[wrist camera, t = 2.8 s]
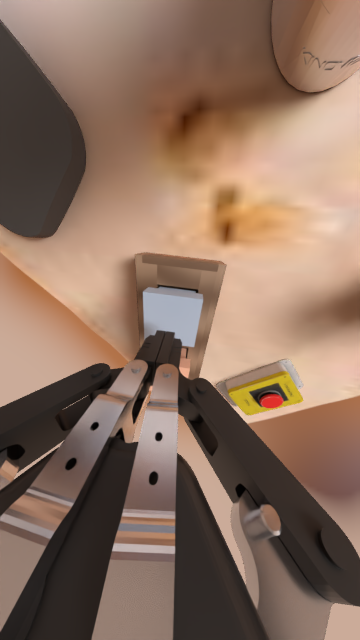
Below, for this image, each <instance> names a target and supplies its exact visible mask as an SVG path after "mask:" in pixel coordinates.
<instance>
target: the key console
mask: <svg viewBox="0 0 360 640" xmlns="http://www.w3.org/2000/svg"><path fill="white" fill-rule="evenodd" d="M135 266H136V284H137V303H138V321H139V340H140V348H141V346H142V344H143V342H144V312H143V291H144V290H145V289H147V288H148V287H151V288H159V287H166V288H174V289H182V290H190V291H196V293H198V294H203V304H202V309H201V314H200V319H199V325H198V330H197V335H196V340H195V345H194V347H189V346H182V348H185V349H186V359H190V371H189V376H188V379H190V380H193V379H195V378H199V374H200V370H201V366H202V362H203V358H204V354H205V350H206V346H207V342H208V338H209V334H210V330H211V326H212V322H213V318H214V314H215V310H216V306H217V302H218V298H219V294H220V289H221V285H222V281H223V277H224V273H225V269H226V264H224V263H223V262H221V261H214V260H206V259H198V258H189V257H181V256H172V255H164V254H155V253H147V252H146V253H139V254H135Z"/></svg>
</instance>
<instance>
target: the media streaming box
mask: <svg viewBox="0 0 360 640" xmlns="http://www.w3.org/2000/svg"><path fill="white" fill-rule="evenodd" d="M85 165H86V151H85V144H84V140H83V136H82V132H81V130H80V127H79V124H78V122H77V120H76V118H75V116H74V114H73V112H72V111H71V109H70V108H69V107H68V105H67V104H66V103H65V101H64V100H63V99H62V97H61V96H60V94H59V93H58V92H57V90H56V89H55V88H54V86H53V85H52V84H51V82H50V81H49V80H48V79H47V77H46V76H45V75H44V73H43V72H42V71H41V69H40V68H39V67H38V66H37V64H36V63H35V62H34V61H33V59H32V58H31V57H30V55H29V54H28V53H27V52H26V50H25V49H24V48H23V47H22V45H21V44H20V43H19V42H18V41H17V39H16V38H15V37H14V36H13V34H12V33H11V32H10V31H9V30H8V28H7V27H6V26H5V25H4V24H3V22H2V21H1V20H0V224H1V225H3V226H4V227H6V228H7V229H9V230H10V231H12V232H14V233H16V234H19V235H22V236H26V237H50V236H52V235H53V234H54V233H55V232H56V230H57V228H58V227H59V225H60V223H61V221H62V220H63V218H64V216H65V214H66V212H67V210H68V208H69V206H70V204H71V202H72V200H73V197H74V195H75V193H76V191H77V188H78V186H79V184H80V181H81V179H82V176H83V174H84V171H85Z"/></svg>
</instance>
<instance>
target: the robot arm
mask: <svg viewBox="0 0 360 640" xmlns="http://www.w3.org/2000/svg"><path fill="white" fill-rule="evenodd" d="M271 24H272V42H273V49H274V55H275V58H276V61H277V64H278V67H279V69H280V72H281V73H282V75H283V76H284V77H285V79H286V80H287V82H288V83H289V84H291V85H292V86H294V87H295V88H296V89H298V90H302V91H305V92H318V91H323V90H326V89H329V88H331V87H334V86H336V85H338V84H339V83H341V82H342V81H344V80H345V79H347V78H348V77H350V76H351V75H352V74H353V73H355V72H356V71H357V70H358V69H359V68H360V0H273V4H272V13H271ZM181 350H182V342H181V339H177V338H175V332H170V331H162V330H157V331H156V334H155V336H154V335H149V336H148V337H147V338H146V339H145V340H144V342H143V344H142V346H141V348H140V350H139V352H138V353H137V355H136V357H135V359H134V360H133V361H130V362H129V363H128V364H127V365H126V366H125V367H124V368H118V369H110V367H109V365H107V364H104V363H99V364H95V365H92V366H90V367H88V368H86V369H84V370H81V371H79V372H77V373H75V374H73V375H70V376H68V377H66V378H64V379H62V380H60V381H57V382H55V383H53V384H51V385H49V386H46V387H44V388H42V389H40V390H37V391H35V392H33V393H31V394H29V395H27V396H24V397H22V398H20V399H18V400H16V401H13V402H11V403H9V404H7V405H5V406H2V407H0V640H324V637H325V632H326V628H327V624H328V619H329V614H330V610H331V606H332V605H333V604H334V603H340V604H347V605H353V606H360V558H359V556H358V554H357V552H356V550H355V549H354V547H353V545H352V543H351V542H350V540H349V539H348V537H347V536H346V535H345V533H344V532H343V531H342V530H341V528H340V527H339V526H338V525H337V524H336V522H335V521H334V520H333V519H332V518H331V517H330V516H329V515H328V514H327V512H326V511H325V510H324V509H323V508H322V507H321V506H320V505H319V504H318V502H317V501H316V500H315V499H314V498H313V497H312V496H311V495H310V494H309V493H308V492H307V490H306V489H305V488H304V487H303V486H302V485H301V483H300V482H299V481H298V480H297V479H296V478H295V477H294V476H293V475H292V474H291V472H290V471H289V470H288V469H287V468H286V467H285V466H284V465H283V463H282V462H281V461H280V460H279V459H278V458H277V457H276V456H275V455H274V454H273V452H272V451H271V450H270V449H269V448H268V447H267V446H266V445H265V444H264V442H263V441H262V440H261V439H260V438H259V437H258V436H257V435H256V433H255V432H254V431H253V430H252V429H251V428H250V427H249V426H248V425H247V423H246V422H245V421H244V420H243V419H242V418H241V417H240V416H239V414H238V413H237V412H236V411H235V410H234V409H233V408H232V407H231V406H230V404H229V403H228V402H227V401H226V400H225V399H224V398H223V397H222V396H221V394H220V393H219V392H218V391H217V390H216V389H215V388H214V387H213V386H212V384H211V383H210V382H209V381H207V380H206V379H203V378H195V379H193V380H190V379H188V378H186V377H185V376H183V375H182V373H181V372H180V369H179V365H180V357H181ZM150 386H153V387H152V392H151V397H150V401H149V403H148V404H147V407H146V412H145V417H144V420H143V425H142V429H141V434H140V438H139V442H133V443H132V441H133V438H134V433H135V428H136V426H137V423H138V420H139V418H140V415H141V413H142V410H143V408H144V405H145V403H146V400H147V398H148V392H149V389H150ZM87 395H88V396H87ZM85 396H86V397H85ZM83 397H85V398H83ZM82 398H83V399H82ZM80 399H81V400H80ZM78 400H80V401H78ZM76 401H78V402H76ZM75 402H76V403H75ZM73 403H74V404H73ZM71 404H73V405H71ZM69 405H71V406H69ZM68 406H69V407H68ZM66 407H67V408H66ZM64 408H66V409H64ZM62 409H63V410H62ZM178 414H180V415H181V416H183V417H184V419H185V421H186V423H187V425H188V427H189V428H190V430H191V432H192V433H193V435H194V437H195V439H196V440H197V442H198V444H199V445H200V447H201V449H202V451H203V452H204V454H205V456H206V458H207V459H208V461H209V463H210V464H211V466H212V468H213V469H214V471H215V473H216V475H217V476H218V478H219V480H220V482H221V483H222V485H223V487H224V489H225V490H226V492H227V494H228V495H229V497H230V499H231V501H232V502H233V506H232V510H231V526H232V531H233V535H234V538H235V541H236V543H237V545H238V548H239V550H240V553H241V556H242V560H243V564H244V569H245V576H246V585H245V583H244V581H243V579H242V576H241V574H240V572H239V570H238V568H237V565H236V563H235V561H234V559H233V557H232V555H231V552H230V550H229V548H228V546H227V544H226V541H225V539H224V537H223V535H222V533H221V531H220V528H219V526H218V524H217V522H216V520H215V518H214V515H213V513H212V511H211V509H210V507H209V504H208V502H207V500H206V498H205V496H204V493H203V491H202V489H201V487H200V485H199V483H198V480H197V478H196V476H195V474H194V472H193V470H192V469H191V467H190V466H189V464H188V463H187V462H186V461H185V459H183V457H182V456H181V455H179V454H178V453H177V434H178V432H177V431H178ZM63 440H64V441H63ZM62 441H63V443H62V444H61V445H60V447H58V448H57V449H55V450H54V451H52V452H51V453H50V454H48V455H47V456H46V457H44V458H43V459H41V460H40V461H39V462H37V463H36V464H35V465H33V466H32V467H31V468H29V469H28V470H27V471H25V472H24V473H23V474H21V475H20V476H18V477H17V478H16V479H14V477H15V476H16V474H17V473H18V472H19V471H20V470H22V469H23V468H25V467H26V466H28V465H29V464H31V463H32V462H33V461H35V460H36V459H38V458H39V457H41V456H42V455H43V454H45V453H46V452H48V451H49V450H51V449H52V448H53V447H55V446H56V445H58V444H59V443H61V442H62Z"/></svg>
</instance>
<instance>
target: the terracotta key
mask: <svg viewBox="0 0 360 640" xmlns="http://www.w3.org/2000/svg"><path fill="white" fill-rule="evenodd" d="M179 369H180V372H181V373H182V375H183V376H185V377H186V378H188V376H189V371H190V359H186V349H185V348H182V350H181V357H180V365H179ZM152 387H153V386H150V389H149V391H152Z"/></svg>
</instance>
